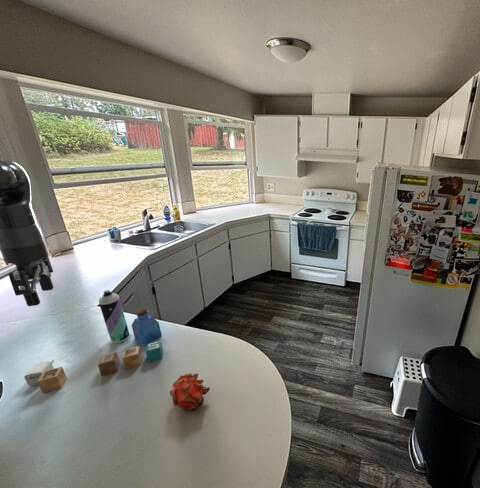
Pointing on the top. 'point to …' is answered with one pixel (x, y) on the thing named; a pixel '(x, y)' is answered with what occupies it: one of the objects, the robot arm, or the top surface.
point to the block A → (52, 379)
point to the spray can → (114, 317)
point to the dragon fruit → (188, 392)
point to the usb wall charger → (37, 372)
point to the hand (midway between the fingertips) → (41, 297)
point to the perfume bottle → (145, 327)
